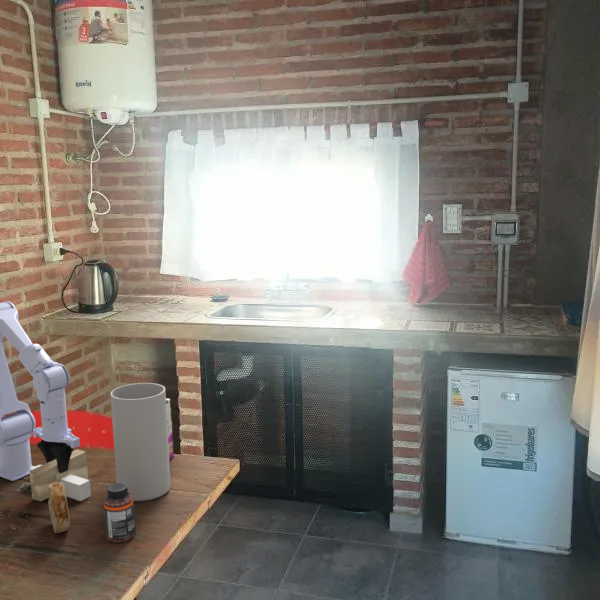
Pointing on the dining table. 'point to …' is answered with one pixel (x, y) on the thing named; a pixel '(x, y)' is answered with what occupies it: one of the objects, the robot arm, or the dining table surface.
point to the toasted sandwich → (58, 507)
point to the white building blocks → (75, 486)
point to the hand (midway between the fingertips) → (58, 469)
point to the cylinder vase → (141, 439)
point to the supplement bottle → (119, 513)
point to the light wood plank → (56, 474)
